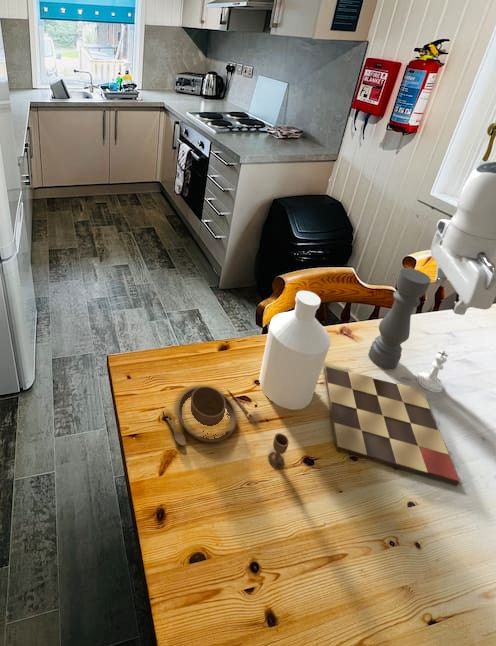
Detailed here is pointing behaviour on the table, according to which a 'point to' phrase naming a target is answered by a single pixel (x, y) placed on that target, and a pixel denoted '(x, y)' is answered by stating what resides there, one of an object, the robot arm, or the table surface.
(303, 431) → the table surface
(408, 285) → the candle holder
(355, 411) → the board
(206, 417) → the place setting
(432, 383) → the chess piece
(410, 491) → the table surface
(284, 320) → the bottle
